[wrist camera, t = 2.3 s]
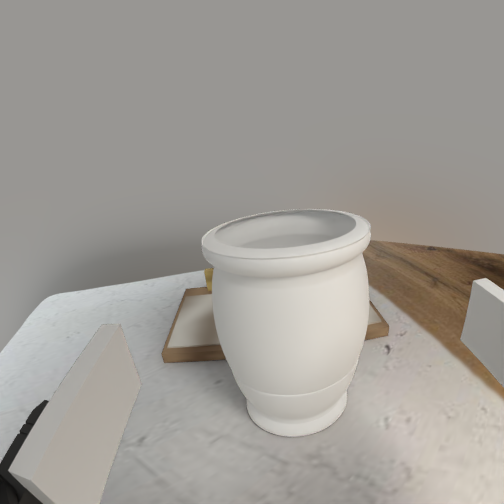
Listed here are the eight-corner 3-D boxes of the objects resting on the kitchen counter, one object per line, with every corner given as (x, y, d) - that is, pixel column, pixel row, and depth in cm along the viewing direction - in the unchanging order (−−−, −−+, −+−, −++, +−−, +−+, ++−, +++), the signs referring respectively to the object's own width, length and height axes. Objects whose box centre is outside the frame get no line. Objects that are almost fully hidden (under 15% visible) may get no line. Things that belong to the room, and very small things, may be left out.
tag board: (346, 277, 45) (346, 250, 44) (387, 335, 30) (391, 301, 29) (187, 296, 46) (182, 270, 44) (164, 362, 31) (153, 330, 29)
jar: (292, 349, 31) (281, 203, 26) (381, 387, 23) (397, 214, 18) (210, 406, 24) (168, 238, 19) (302, 472, 17) (295, 272, 12)
